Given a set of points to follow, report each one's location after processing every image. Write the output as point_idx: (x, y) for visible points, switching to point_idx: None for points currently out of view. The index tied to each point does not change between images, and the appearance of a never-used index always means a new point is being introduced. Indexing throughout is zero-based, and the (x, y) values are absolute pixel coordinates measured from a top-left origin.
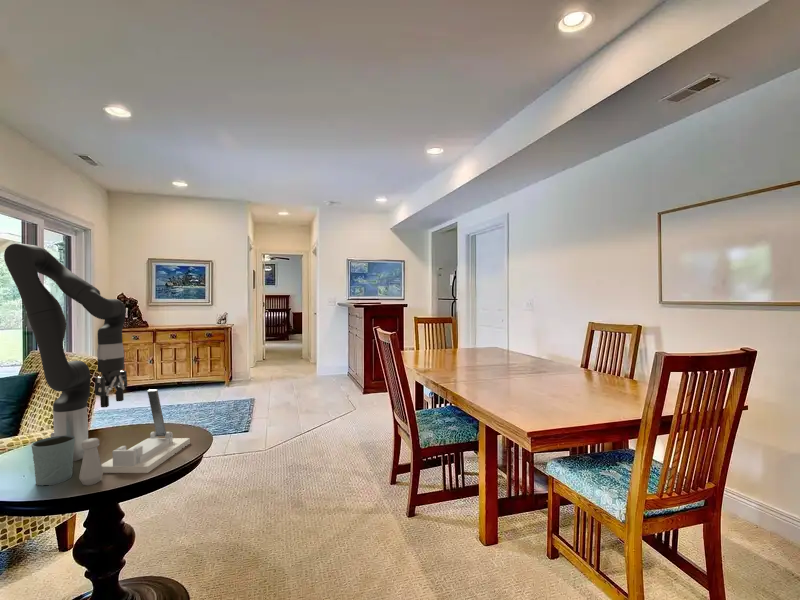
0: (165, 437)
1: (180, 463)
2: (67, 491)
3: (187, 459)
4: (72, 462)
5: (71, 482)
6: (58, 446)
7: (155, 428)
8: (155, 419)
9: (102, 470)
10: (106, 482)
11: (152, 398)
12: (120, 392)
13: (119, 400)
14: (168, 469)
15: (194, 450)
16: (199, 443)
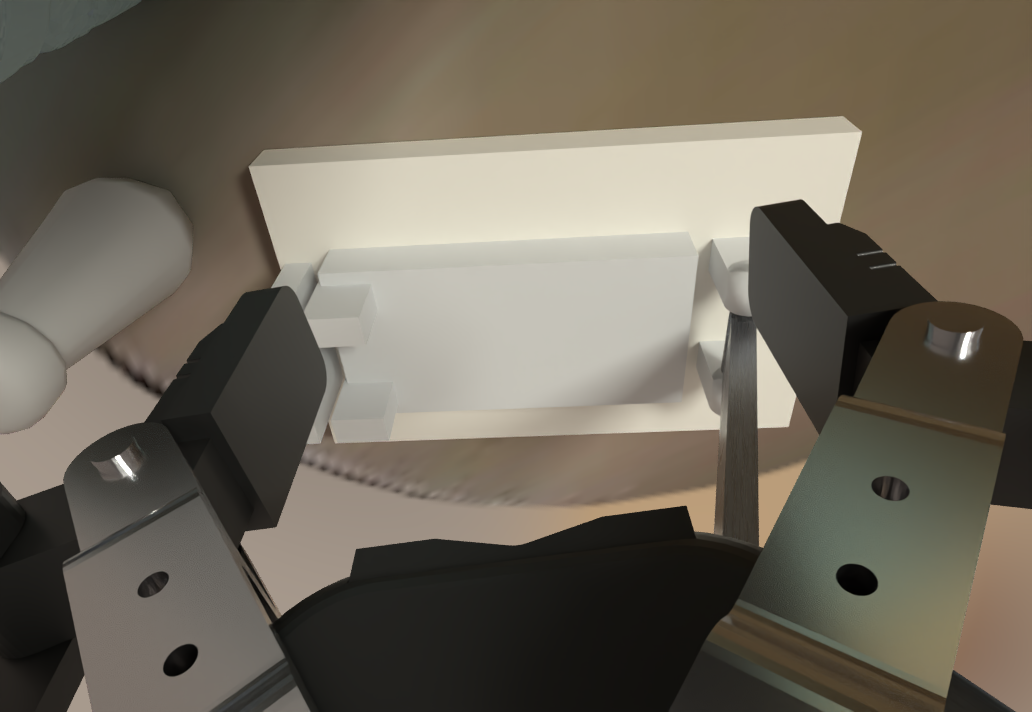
0: (709, 369)
1: (476, 489)
2: (5, 172)
3: (527, 493)
4: (101, 18)
5: (89, 85)
6: None
7: (730, 354)
8: (725, 430)
9: (165, 297)
10: (183, 301)
11: None
12: (813, 392)
13: (754, 267)
14: (401, 477)
15: (653, 470)
16: (769, 447)
